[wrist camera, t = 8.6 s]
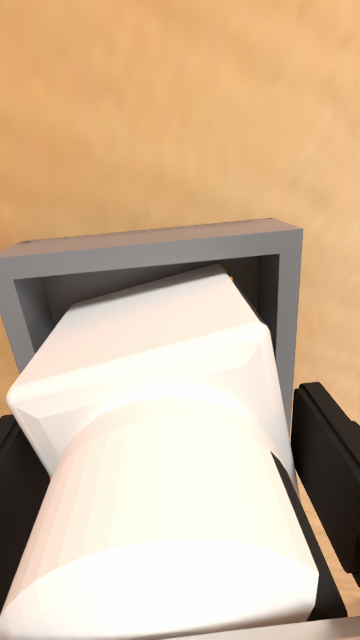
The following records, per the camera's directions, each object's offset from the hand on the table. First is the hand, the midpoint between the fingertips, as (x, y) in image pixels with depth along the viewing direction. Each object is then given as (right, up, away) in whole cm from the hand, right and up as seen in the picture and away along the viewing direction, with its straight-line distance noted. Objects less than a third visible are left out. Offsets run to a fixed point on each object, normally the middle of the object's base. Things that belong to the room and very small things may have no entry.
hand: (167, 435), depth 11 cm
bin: (-1, +3, +6) cm, 7 cm away
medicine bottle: (0, +2, +6) cm, 6 cm away
